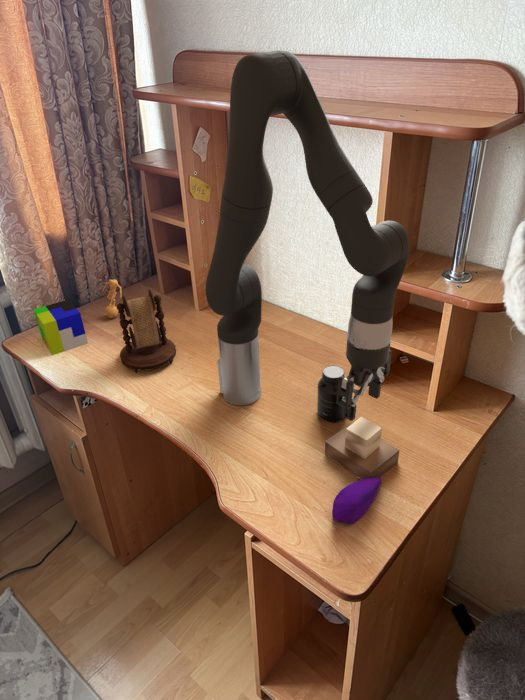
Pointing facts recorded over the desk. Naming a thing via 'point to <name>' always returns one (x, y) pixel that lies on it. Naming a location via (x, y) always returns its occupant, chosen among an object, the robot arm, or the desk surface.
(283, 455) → the desk surface
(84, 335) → the puzzle toy
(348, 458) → the walnut slab
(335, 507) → the purple teardrop shape
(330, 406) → the supplement bottle
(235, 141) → the robot arm
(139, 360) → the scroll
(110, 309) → the figurine
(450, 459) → the desk surface
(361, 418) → the oak cube
